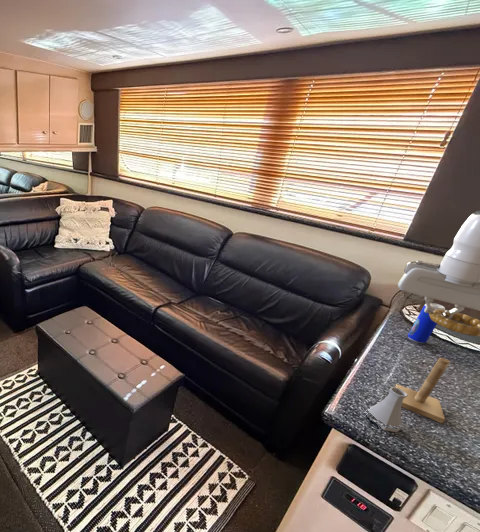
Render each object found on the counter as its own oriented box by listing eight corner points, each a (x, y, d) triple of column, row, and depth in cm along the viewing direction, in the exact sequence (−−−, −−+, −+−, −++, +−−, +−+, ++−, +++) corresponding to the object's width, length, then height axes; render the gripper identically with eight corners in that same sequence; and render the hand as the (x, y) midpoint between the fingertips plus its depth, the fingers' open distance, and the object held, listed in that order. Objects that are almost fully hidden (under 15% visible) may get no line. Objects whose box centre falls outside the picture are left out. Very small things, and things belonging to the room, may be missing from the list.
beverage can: (407, 334, 123) (426, 300, 117) (425, 340, 119) (446, 306, 114) (406, 339, 120) (425, 304, 114) (425, 345, 116) (446, 310, 110)
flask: (378, 408, 86) (395, 380, 83) (408, 431, 80) (427, 401, 76) (356, 411, 85) (372, 382, 81) (384, 434, 79) (403, 404, 75)
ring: (481, 326, 88) (486, 318, 87) (492, 343, 80) (498, 335, 79) (425, 311, 94) (429, 303, 93) (430, 325, 86) (435, 318, 85)
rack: (436, 403, 89) (465, 359, 83) (442, 423, 83) (474, 377, 77) (394, 387, 95) (418, 344, 89) (396, 405, 88) (423, 360, 82)
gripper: (411, 261, 87) (388, 305, 93) (528, 286, 75) (494, 334, 81) (408, 256, 92) (387, 297, 97) (519, 278, 80) (487, 325, 85)
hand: (436, 314), depth 89 cm, fingers closed on ring, 2 cm apart
